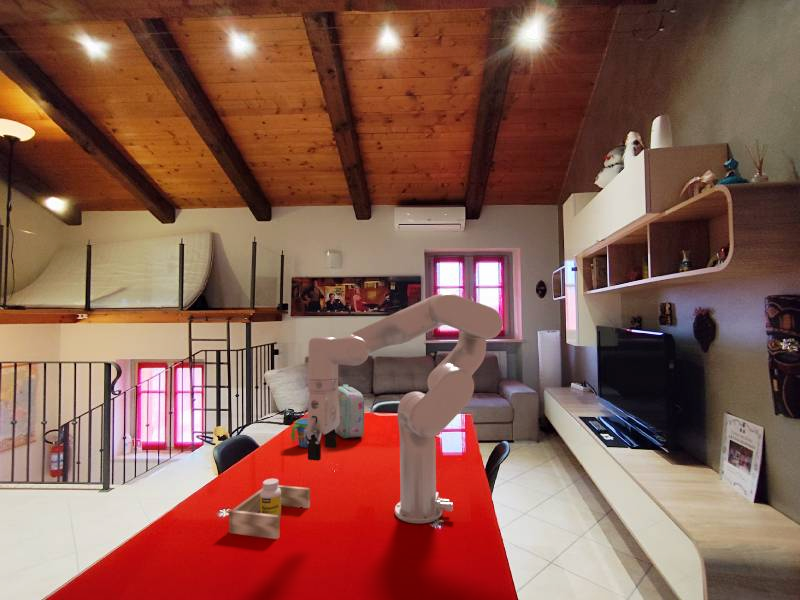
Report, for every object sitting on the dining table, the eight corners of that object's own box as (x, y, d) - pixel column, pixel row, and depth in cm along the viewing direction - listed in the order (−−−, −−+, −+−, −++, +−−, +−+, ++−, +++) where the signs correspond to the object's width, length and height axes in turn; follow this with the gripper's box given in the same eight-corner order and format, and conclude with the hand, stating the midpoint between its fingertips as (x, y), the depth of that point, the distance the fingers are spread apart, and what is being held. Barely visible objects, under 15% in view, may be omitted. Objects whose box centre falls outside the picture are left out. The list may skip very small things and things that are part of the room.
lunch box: (327, 427, 194) (327, 383, 195) (348, 425, 199) (347, 381, 200) (343, 442, 170) (343, 391, 171) (366, 439, 174) (366, 389, 176)
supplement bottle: (258, 525, 102) (259, 486, 102) (260, 515, 107) (260, 478, 107) (280, 522, 103) (280, 483, 103) (281, 512, 108) (281, 476, 109)
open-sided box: (309, 506, 111) (309, 488, 112) (277, 539, 95) (277, 517, 95) (267, 502, 115) (267, 484, 115) (229, 532, 98) (229, 511, 98)
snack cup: (317, 438, 176) (317, 415, 177) (331, 443, 169) (331, 419, 169) (284, 446, 165) (284, 421, 166) (297, 452, 158) (297, 426, 158)
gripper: (322, 391, 94) (321, 466, 93) (349, 381, 111) (349, 444, 110) (293, 390, 96) (292, 464, 95) (323, 380, 112) (323, 442, 111)
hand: (322, 453), depth 102 cm, fingers open, 9 cm apart
